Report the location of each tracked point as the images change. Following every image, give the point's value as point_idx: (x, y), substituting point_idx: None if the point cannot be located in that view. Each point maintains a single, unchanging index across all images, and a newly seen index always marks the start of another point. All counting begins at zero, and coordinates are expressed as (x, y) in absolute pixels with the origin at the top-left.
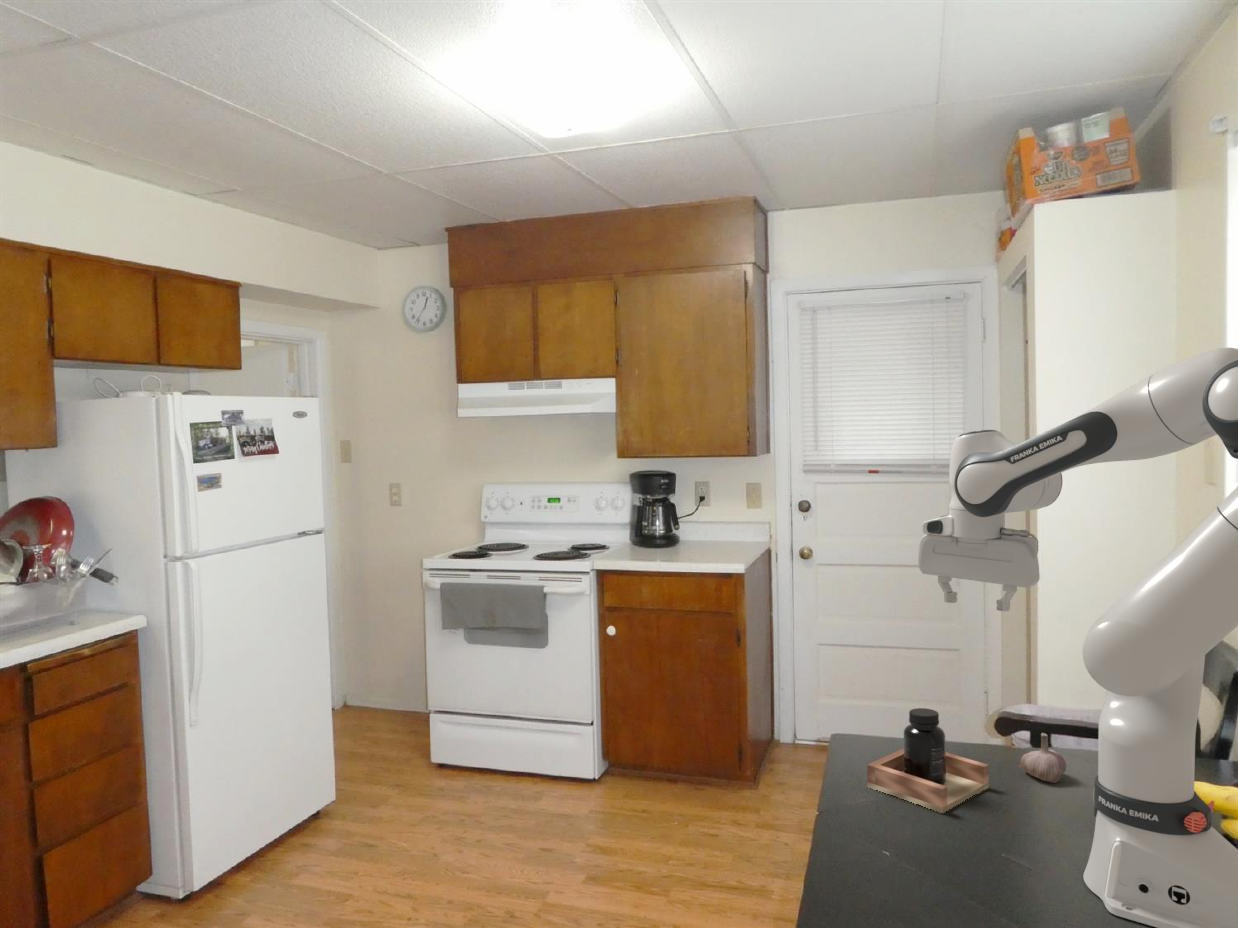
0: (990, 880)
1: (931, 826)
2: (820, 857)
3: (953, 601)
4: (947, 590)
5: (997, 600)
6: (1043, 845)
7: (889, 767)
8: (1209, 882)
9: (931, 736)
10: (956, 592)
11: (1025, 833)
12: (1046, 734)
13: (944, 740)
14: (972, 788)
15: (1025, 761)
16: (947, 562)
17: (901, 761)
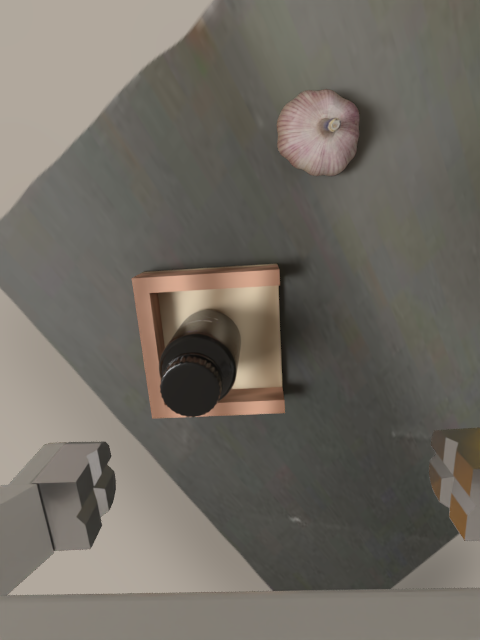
0: (410, 492)
1: (293, 433)
2: (255, 570)
3: (111, 483)
4: (35, 555)
5: (471, 539)
6: (421, 377)
7: None
8: None
9: (226, 392)
10: (78, 490)
11: (389, 364)
12: (338, 120)
13: (235, 358)
14: (274, 308)
15: (298, 165)
16: None
17: (159, 341)
